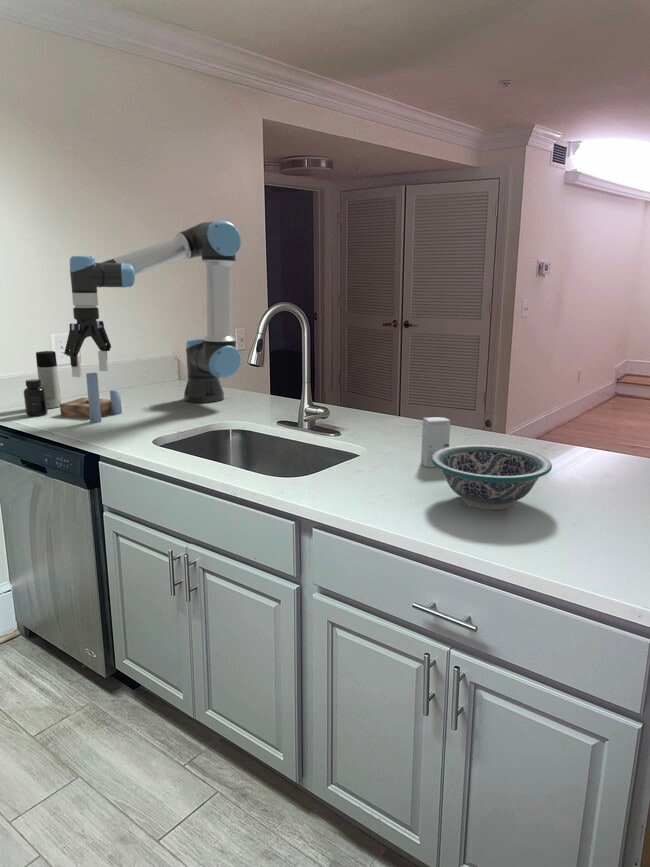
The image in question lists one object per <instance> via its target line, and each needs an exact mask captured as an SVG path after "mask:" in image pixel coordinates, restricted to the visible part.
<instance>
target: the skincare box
mask: <svg viewBox="0 0 650 867" xmlns="http://www.w3.org/2000/svg"><path fill="white" fill-rule="evenodd" d="M450 433H451V420H450V419H449V418H446V417H445V416H444V417H443V416H441V417H439V416H437V417H436V416H435V417H434V416H433V417H423V418H422V432H421V452H420V453H421V456H420V463H421V464H422V465H423V466H424V467H425V468H433V467H436V466H435V465H434V464H433V463H432V460H431V457H432V455H433V454H434V453H435V452H436V451H438V450H440V449H443V448H447V447H450V435H451V434H450Z"/></svg>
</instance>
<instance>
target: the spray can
mask: <svg viewBox="0 0 650 867" xmlns="http://www.w3.org/2000/svg"><path fill="white" fill-rule="evenodd" d="M35 358H36V359H35V360H36V368H37V376H38V377H37V379H40V380H41V387H43V388H44V389H45V393H46V402H47V409H49V408H51V409H58V408H60V404H62V398H61V390H60V383H59V382H60V380H59V371H58V364H57V363H58V362H57V353H56V351H53V350H44V351H42V350H41V351H37V352H35ZM57 407H58V408H57Z"/></svg>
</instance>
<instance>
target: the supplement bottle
mask: <svg viewBox="0 0 650 867" xmlns="http://www.w3.org/2000/svg"><path fill="white" fill-rule="evenodd" d="M25 387H26V388H25V389H24V390H23V398H24V406H25V413H26V415H28V416H27V417H42V416H45V415H47V414H48V411H49V410H48V408H47V402H46V393H45V389H44V388H43V387H41V380H40V379H38V378H34V379H32V378H31V379H27V380H25Z"/></svg>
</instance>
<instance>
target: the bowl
mask: <svg viewBox="0 0 650 867" xmlns="http://www.w3.org/2000/svg"><path fill="white" fill-rule="evenodd" d="M431 460H432V463H433V464H434V465H435V466H436V467H437V468H438V469H440V470H441V471H442V473H443V476H444V478H445V480H446V483H447V484H448V486H449V487H450V489H451V490H452V491H453V492H454V493H455V494H456V495H458V496H460V497H461V498H462V502H463V503H464V504H466V505H467V506H469V507H472V508H475V509H480V510H486V511H489V510H490V511H501V510H506V509H510V508H511V507H512V506H513V505H514V502H517V501H519V500H522V499H523V498H524V497H526V496H527V495H528V494H529V493H530V492H531V490H532V489H533V487H534V485H536V482H537V481H538V480H539V478H541V477H543V476H545V475H548V474H549V473H550V472H551V471H552V468H553V465H552V463H551V461H550V460H549V459H548V458H546V457H545V456H543V455H541V454H538V453H536V452H534V451H530V450H527V449H522V448H517V447H513V446H506V445H505V446H504V445H498V444H497V445H496V444H482V443H481V444H477V443H475V444H459V445H453V446H452V445H451V446H449V447H447V448H443V449H440V450H438V451H436V452H435V453H434V454H433V455H432V457H431Z"/></svg>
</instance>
